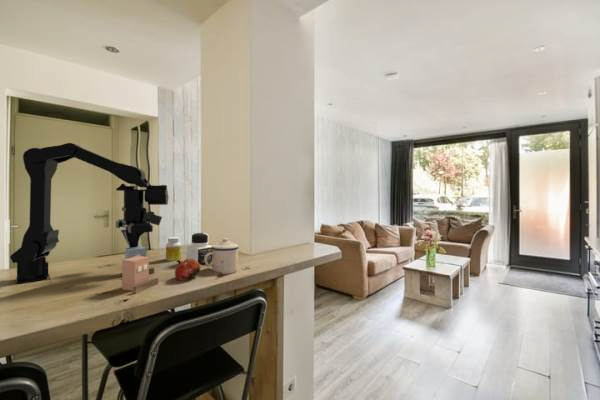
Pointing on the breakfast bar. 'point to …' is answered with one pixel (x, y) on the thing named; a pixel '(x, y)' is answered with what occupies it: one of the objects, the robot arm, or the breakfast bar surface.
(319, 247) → the breakfast bar surface
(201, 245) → the medicine bottle
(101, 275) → the breakfast bar surface
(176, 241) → the supplement bottle
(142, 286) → the plinth
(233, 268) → the teacup with lid
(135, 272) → the pink box
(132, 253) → the blue block
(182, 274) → the pomegranate
